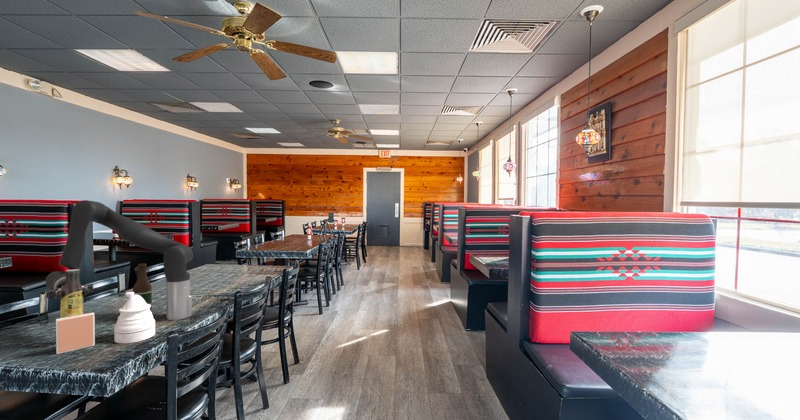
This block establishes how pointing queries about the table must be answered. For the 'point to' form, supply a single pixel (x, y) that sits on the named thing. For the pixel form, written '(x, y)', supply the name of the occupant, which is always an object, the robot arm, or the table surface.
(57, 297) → the robot arm
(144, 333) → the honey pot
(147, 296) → the beer bottle
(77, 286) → the sauce bottle
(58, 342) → the tile
